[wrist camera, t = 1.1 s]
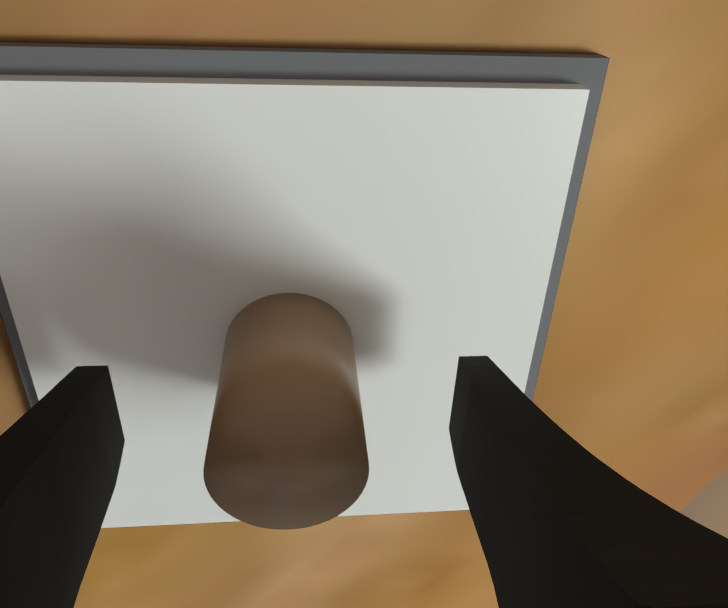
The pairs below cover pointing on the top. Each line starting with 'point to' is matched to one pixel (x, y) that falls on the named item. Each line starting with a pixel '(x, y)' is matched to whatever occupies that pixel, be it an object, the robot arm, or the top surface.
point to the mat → (324, 67)
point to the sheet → (280, 275)
